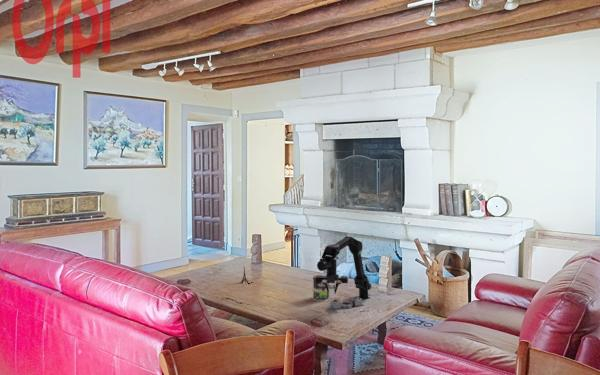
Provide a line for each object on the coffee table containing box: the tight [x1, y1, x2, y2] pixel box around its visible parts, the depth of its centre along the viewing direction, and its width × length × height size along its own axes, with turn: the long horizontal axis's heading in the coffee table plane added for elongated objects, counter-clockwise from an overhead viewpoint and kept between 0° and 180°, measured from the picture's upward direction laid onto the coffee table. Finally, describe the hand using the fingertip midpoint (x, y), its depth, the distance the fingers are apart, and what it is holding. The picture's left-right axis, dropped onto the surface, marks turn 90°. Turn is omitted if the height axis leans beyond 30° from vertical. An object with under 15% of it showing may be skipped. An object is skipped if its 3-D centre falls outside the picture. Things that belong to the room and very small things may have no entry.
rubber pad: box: [325, 309, 339, 315], centre depth 268 cm, size 6×6×1 cm
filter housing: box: [328, 297, 365, 311], centre depth 278 cm, size 8×21×4 cm, turn 112°
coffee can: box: [312, 275, 330, 302], centre depth 293 cm, size 10×10×14 cm
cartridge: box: [329, 283, 336, 299], centre depth 268 cm, size 4×4×7 cm
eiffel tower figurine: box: [240, 266, 249, 285], centre depth 332 cm, size 15×10×13 cm
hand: (331, 293), depth 268 cm, fingers closed on cartridge, 4 cm apart
